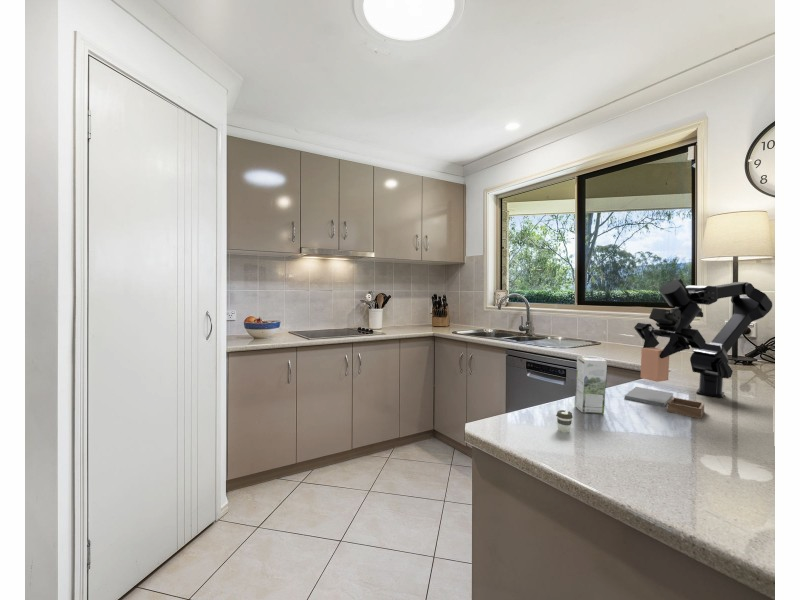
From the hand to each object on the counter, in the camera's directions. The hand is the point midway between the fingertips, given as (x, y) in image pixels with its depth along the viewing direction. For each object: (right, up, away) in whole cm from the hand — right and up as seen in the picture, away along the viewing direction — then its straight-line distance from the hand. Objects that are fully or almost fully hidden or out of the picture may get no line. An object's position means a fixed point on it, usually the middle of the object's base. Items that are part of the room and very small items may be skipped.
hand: (651, 355), depth 114 cm
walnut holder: (+3, -14, -9) cm, 17 cm away
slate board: (+1, -13, +3) cm, 14 cm away
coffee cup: (-36, -15, -24) cm, 46 cm away
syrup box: (-23, -14, -9) cm, 28 cm away
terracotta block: (+1, -7, +1) cm, 7 cm away
